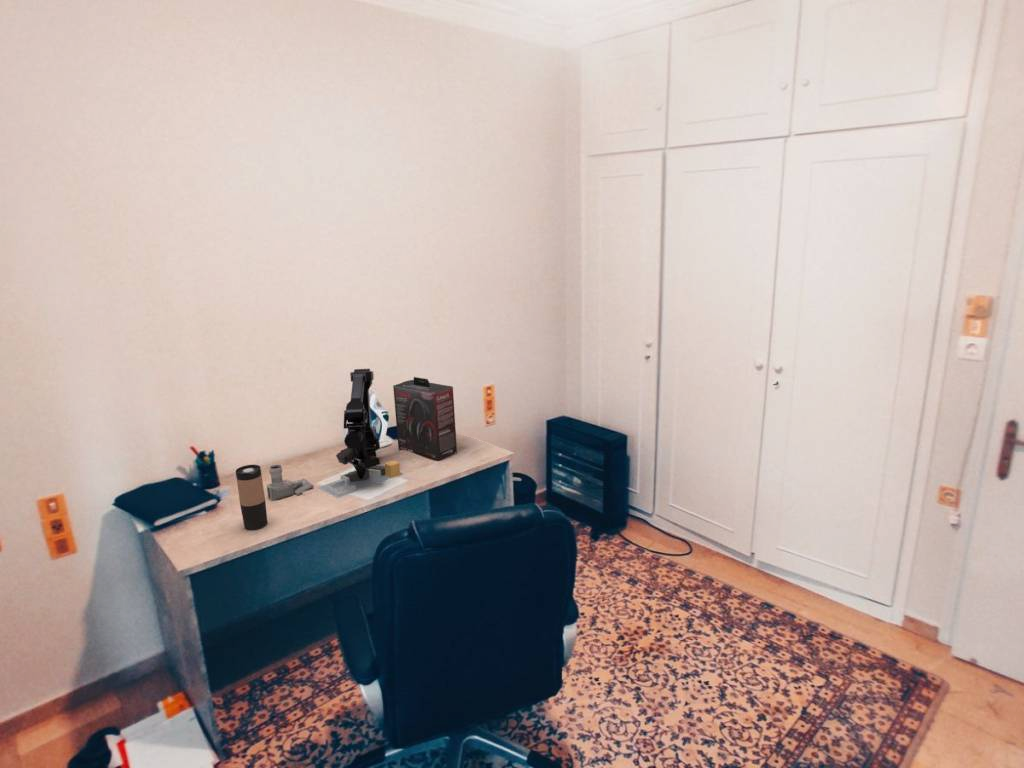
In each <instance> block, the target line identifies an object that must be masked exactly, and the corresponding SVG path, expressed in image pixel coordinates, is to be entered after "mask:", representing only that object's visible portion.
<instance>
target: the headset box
mask: <svg viewBox="0 0 1024 768" xmlns="http://www.w3.org/2000/svg"><path fill="white" fill-rule="evenodd" d="M392 388H393V400H394V410H395V423H396V434H397V448H398V451H405V452H406V451H407V452H410V453H412V454H415V455H417V456H419V457H422V458H426V459H431V460H434V461H441V460H443V459H445V458H448V457H449V456H452V455H454V454H456V453H458V447H457V432H456V430H457V429H456V415H455V403H454V402H455V400H454V387H453V386H452V385H445V384H441V383H433V382H430V381H429V379H428V378H423V377H417V376H413V379H409V380H406V381H402V382H401V383H398V384H394V385H393V386H392Z"/></svg>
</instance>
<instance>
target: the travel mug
mask: <svg viewBox="0 0 1024 768" xmlns="http://www.w3.org/2000/svg"><path fill="white" fill-rule="evenodd" d="M235 475H236V482H237V483H236V484H237V485H236V486H237V492H238V498H239V500H238V501H239V505H240V510H241V516H242V522H243V527H244V529H245V530H247V531H256V530H257V531H258V530H260V529H263V528H265V527H266V526H267V525H268V514H267V505H266V495H265V489H264V482H263V475H262V469H261V465H258V464H247V465H242V466H240V467H238V468H236V470H235Z"/></svg>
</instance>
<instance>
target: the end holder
mask: <svg viewBox="0 0 1024 768" xmlns="http://www.w3.org/2000/svg"><path fill="white" fill-rule="evenodd" d="M337 481H338V480H337ZM334 482H335V481H334ZM343 485H345V480H341V481H338V482H335V483H333V484H330V485H327V486H326V490H327V491H329V492H331V493H333V494H335V495H336V496H341V495H344V494H346V493H349V492H352V491H354V490H356V487H355V485H352V486H350V487H347V488H344V489H341V490H337V489H335V488H337V487H340V486H343Z"/></svg>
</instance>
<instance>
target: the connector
mask: <svg viewBox="0 0 1024 768" xmlns="http://www.w3.org/2000/svg"><path fill="white" fill-rule="evenodd" d="M384 466H385V475H386V476H388V477H390V478H391V479H393V478H396V477H398V475H399V476H400V473H401V471H400V470H401V468H400V463H399V462H398V461H395V460H390V461H387V462H385V463H384Z"/></svg>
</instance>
